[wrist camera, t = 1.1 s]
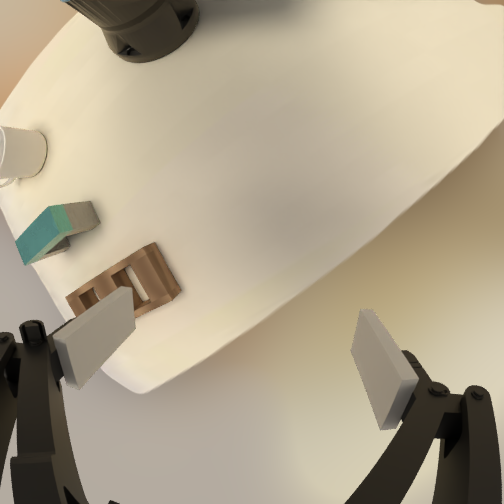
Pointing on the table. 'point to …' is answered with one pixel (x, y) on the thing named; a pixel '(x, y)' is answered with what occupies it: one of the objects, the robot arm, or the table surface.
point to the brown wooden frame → (148, 273)
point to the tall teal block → (55, 230)
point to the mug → (20, 153)
